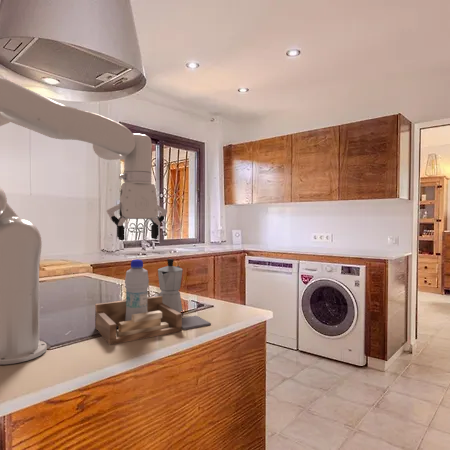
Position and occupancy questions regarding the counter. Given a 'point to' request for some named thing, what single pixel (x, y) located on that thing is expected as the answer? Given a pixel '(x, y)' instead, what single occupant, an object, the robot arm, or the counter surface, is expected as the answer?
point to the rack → (116, 312)
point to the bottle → (136, 289)
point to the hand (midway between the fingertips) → (138, 239)
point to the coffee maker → (170, 285)
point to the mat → (193, 322)
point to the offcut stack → (142, 323)
